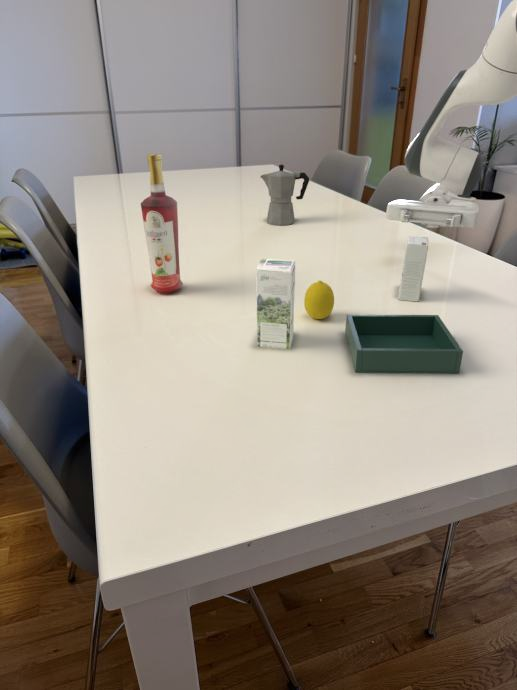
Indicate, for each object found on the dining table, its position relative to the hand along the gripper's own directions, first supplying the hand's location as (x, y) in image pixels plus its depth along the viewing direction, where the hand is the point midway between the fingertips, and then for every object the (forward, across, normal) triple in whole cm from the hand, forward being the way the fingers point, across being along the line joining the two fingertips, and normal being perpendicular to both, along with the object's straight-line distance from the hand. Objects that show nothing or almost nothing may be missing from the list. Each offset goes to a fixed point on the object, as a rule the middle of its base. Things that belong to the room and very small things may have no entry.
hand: (426, 220), depth 112 cm
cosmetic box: (+12, 0, +13) cm, 18 cm away
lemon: (+32, -13, +13) cm, 37 cm away
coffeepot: (-38, -49, +14) cm, 64 cm away
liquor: (+30, -49, +14) cm, 59 cm away
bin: (+40, +3, +13) cm, 42 cm away
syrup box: (+44, -17, +13) cm, 49 cm away
